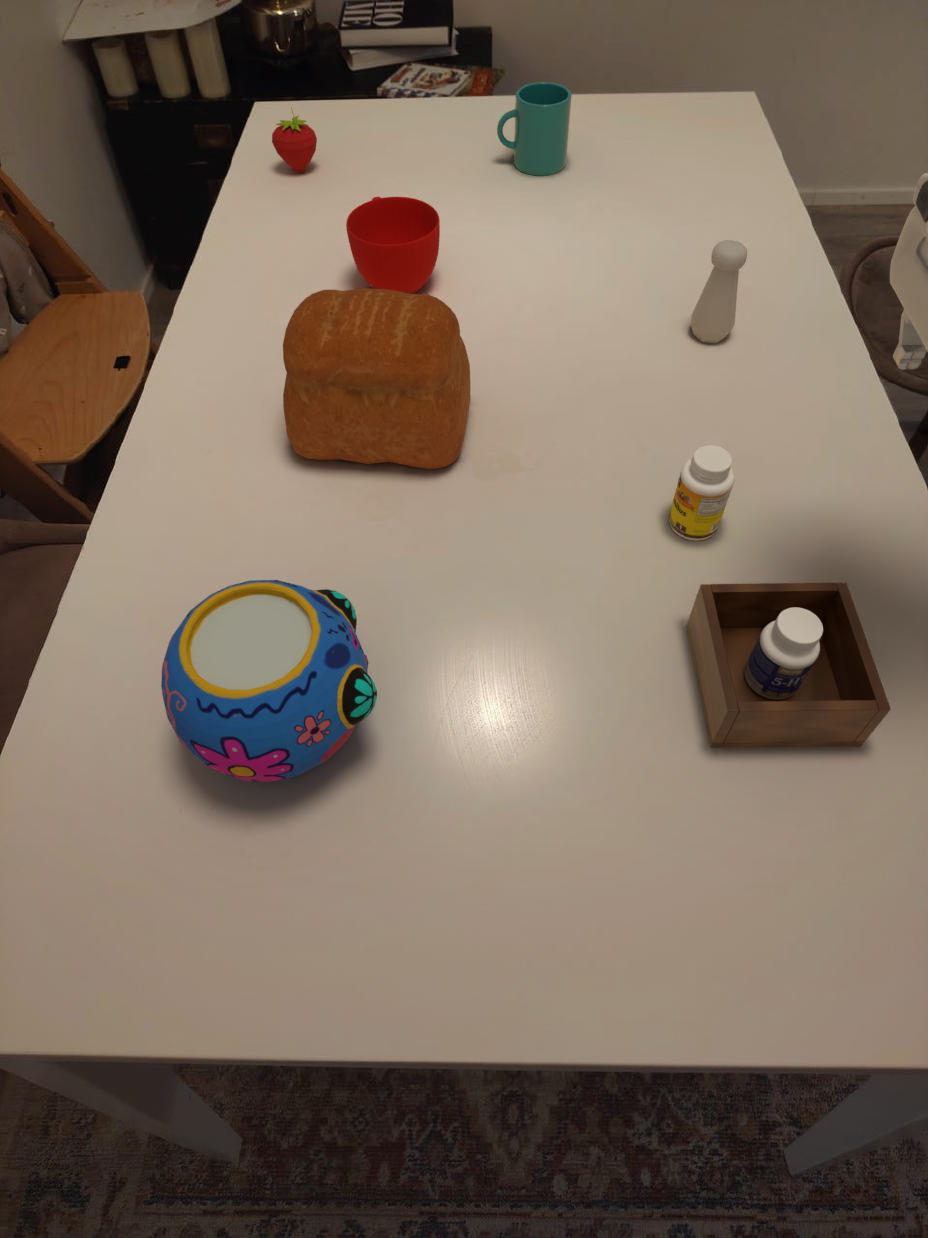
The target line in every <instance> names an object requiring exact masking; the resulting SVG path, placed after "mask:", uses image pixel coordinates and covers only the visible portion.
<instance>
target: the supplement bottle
mask: <svg viewBox="0 0 928 1238" xmlns="http://www.w3.org/2000/svg"><path fill="white" fill-rule="evenodd" d="M732 464H733V458H732V455H731V454H730V452H728V450H726V449H724V448H723V447H721V446H718V445H712V444H710V445H709V444H707V445H702V446H700V447H698V448H697V449H696V450H695V451H694V453H693V454H692V458H690V459H688V460H687V461H685V463H684V464H683V465H682V467H681V470H680V473H679V477H678V480H677V484H676V489H675V492H674V496H673V500H672V504H671V507H670V511H669V515H668V522H669V523H668V524H669V526H670V528H671V530H672V531H673V532H674V533H675V534H676V535H678V536H679V537H681V538H683V539H686V540H689V541H698V542H699V541H705V540H707V539H709V538H711V537H713V536H714V535H715V534H716V532H717V531H718V530H719V526H720V524H721V521H722V518H723V515H724V513H725V510H726V507H727V505H728V504H727V503H728V501H729V498H730V495H731V492H732V490H733V486H734V484H735V473H734V469H732Z"/></svg>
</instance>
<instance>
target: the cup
mask: <svg viewBox="0 0 928 1238" xmlns="http://www.w3.org/2000/svg"><path fill="white" fill-rule="evenodd" d="M572 96H573V95H572V92H571V90H570V89H569V88H568V87H567V86H565V85H562V84H560V83H557V82H551V81H550V82H549V81H538V82H536V81H535V82H532V83H531V82H530V83H527V84H524V85H522V86H520V87H519V88H518V89H517V90H516V91H515V101H514V102H515V103H514V104H515V106H514V109H511V110H508V111H506V112H505V113H504V114H503V115H502V116H501V117H500V119H499V120H498V123H497V127H496V134H497V138H498V140H499V142H500V143H501V144H502V146H504V147H506V148H507V149H510V150H513V164H514V166H515V168H516V169H517V170H518V171H519V172H521V173H523V174H526V175H529V176H536V177H545V176H551V175H555V174H557V173H560V172H561V171H562V170H563V169H565V167H566V164H567V157H568V146H569V145H568V143H569V133H570V132H569V131H570V121H571V120H570V119H571V109H572ZM512 118H514V134H513V135H514V136H513V137H514V138H513V141H511V140H508V138H506V136H505V135H504V127H505V124H506V123H507V121H509V120H511V119H512Z"/></svg>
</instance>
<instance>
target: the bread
mask: <svg viewBox="0 0 928 1238" xmlns="http://www.w3.org/2000/svg"><path fill="white" fill-rule="evenodd" d="M460 328H461V327H460V323H459V319H458V318H457V315H456V313H455V312H454V311H453V310H452V308H451V307H450V306H449V305H448V304H446V303H445V302H444V301H443V300H441V299H439V298H438V297H436V296H433V295H430V294H423V293H422V294H418V293H415V294H409V293H404V292H399V291H394V290H387V289H374V288H368V287H367V288H366V287H365V288H355V289H348V290H341V289H322V290H318V291H316V292H314V293H311V294H310V295H308V296H307V297H305V298H304V299H303V300H302V301H301V302H300V303H299V305H298V306H296V308H295V309H294V311H293V312H292V315H291V316H290V319H289V321H288V323H287V326H286V328H285V331H284V335H283V336H284V337H283V341H282V357H283V365H284V369H285V371H286V375H285V381H284V386H283V394H282V402H283V403H282V404H283V405H282V406H283V413H284V421H285V429H286V436H287V438H288V441H289V442H290V444H291V447H292V448H293V451H294V452H295V453H296V454H298V455H299V456H301V457H303V458H305V459H307V460H317V461H334V460H335V461H336V460H343V461H350V462H353V463H354V462H355V463H360V464H366V465H371V464H381V463H389V462H390V463H394V464H399V465H402V466H403V465H404V466H407V467H412V468H417V469H424V470H425V469H426V470H434V469H436V470H437V469H441V468H445V467H448V466H450V465H452V464H453V463H455V462H456V460H457V459H458V458H459V456H460V454H461V450H462V448H463V444H464V439H465V438H464V437H465V433H466V428H467V423H468V415H469V409H470V404H471V387H472V386H471V367H470V366H471V365H470V360H469V356H468V352H467V348H466V345H465V342H464V340H463V338H462V336H461V329H460Z"/></svg>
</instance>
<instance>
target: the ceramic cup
mask: <svg viewBox="0 0 928 1238" xmlns="http://www.w3.org/2000/svg"><path fill="white" fill-rule="evenodd" d="M439 215H440V214H439V212H438V211H437V210H436V209H435V207H433V206H432V205H431V204H429V203H427V202H426V201H423V200H421V199H417V198H413V197H407V196H387V197H385V196H384V197H381V196H373V197H372V198H371V200H369V201H366V202H364V203H361V204H360V205H358V206H357V207H355V208H354V209H353V210H352V211H351V212H350V213H349V214H348V217H347V218H346V223H345V227H346V234H347V239H348V243H349V247H350V251H351V255H352V258H353V261H354V264H355V266H356V268H357V270H358V272H359V274H360V275H361V277H362V278H363V280H364V281H365V282H366V283H367V284H368V285H369V286H370V287H371V288H372V289H387V290H394V291H399V292H404V293H409V294H417V292H419V291H420V289H421V288H423V287H424V285H425V284H426V283H427V282H428V280H429V279H430V278H431V276H432V274H433V273H434V269H435V266H436V264H437V261H438V257H439V250H440V237H441V236H440V234H441V230H440V229H441V227H440V225H441V224H440V223H441V221H440V216H439Z"/></svg>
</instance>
